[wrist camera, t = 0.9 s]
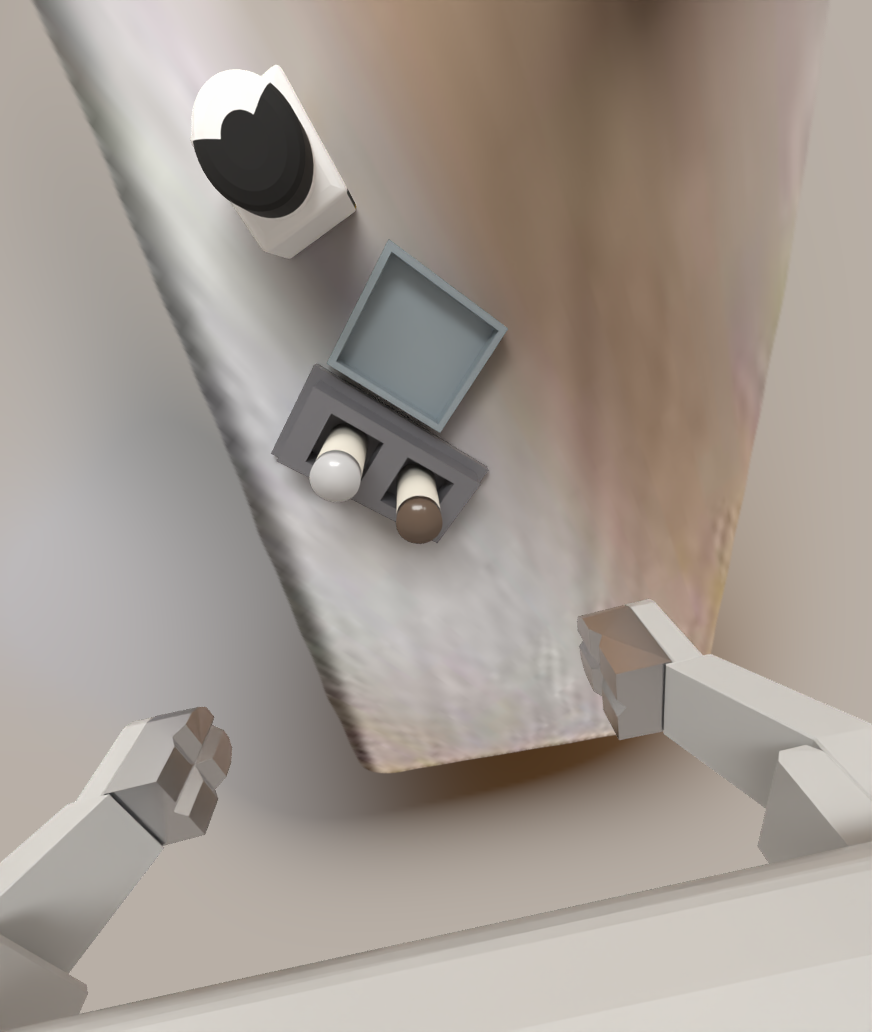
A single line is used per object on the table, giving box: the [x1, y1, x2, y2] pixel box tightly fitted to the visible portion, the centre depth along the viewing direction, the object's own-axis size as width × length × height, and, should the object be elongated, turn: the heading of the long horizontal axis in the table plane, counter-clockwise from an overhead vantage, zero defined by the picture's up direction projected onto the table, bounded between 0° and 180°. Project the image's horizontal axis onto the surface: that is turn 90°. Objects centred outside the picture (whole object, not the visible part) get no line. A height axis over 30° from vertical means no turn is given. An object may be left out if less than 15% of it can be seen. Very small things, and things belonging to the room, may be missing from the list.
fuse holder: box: [271, 363, 488, 543], centre depth 42 cm, size 20×10×4 cm, turn 57°
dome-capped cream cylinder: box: [309, 423, 368, 502], centre depth 38 cm, size 4×4×10 cm
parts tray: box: [327, 240, 508, 433], centre depth 38 cm, size 11×12×2 cm
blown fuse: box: [396, 463, 443, 544], centre depth 40 cm, size 4×4×10 cm
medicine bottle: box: [190, 65, 356, 259], centre depth 28 cm, size 7×7×12 cm
